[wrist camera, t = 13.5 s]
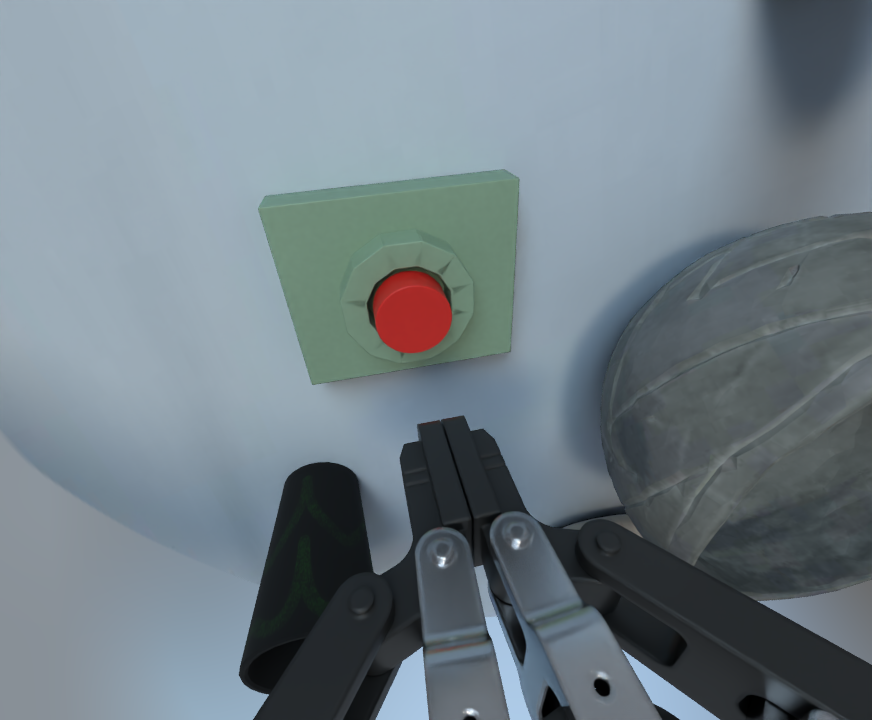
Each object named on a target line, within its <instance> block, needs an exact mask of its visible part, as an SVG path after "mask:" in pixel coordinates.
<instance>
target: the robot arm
mask: <svg viewBox="0 0 872 720" xmlns="http://www.w3.org/2000/svg"><path fill="white" fill-rule="evenodd" d="M417 429H418V438H419V441H417V442H412V443H407V444H404V446H403V449H402V452H401V455H400V464H401V470H402V476H403V483H404V489H405V495H406V500H407V506H408V511H409V517H410V523H411V528H412V534H413V542H412V546H411V548H410V550H409V552H408V554H407V555H406V557H405V558H404V559H403V560H402V561H401V562H400V563H399V564H397V565H396V566H394V567H393V568H391V569H389V570H388V571H386V572H385V573H383V574H381V575H378V574H375V573H371V572H363V573H359V574H356V575H353V576H352V577H350V578H348V579H347V580H346V581H345V582H344V583H343V584H342V585H341V586H340V587H339V588H338V590H337V591H336V593H335V594H334V596H333V597H332V599H331V601H330V602H329V604H328V605H327V607H326V608H325V610H324V611H323V613H322V614H321V616H320V617H319V619H318V621H317V622H316V624H315V625H314V627H313V628H312V630H311V631H310V633H309V634H308V636H307V637H306V639H305V641H304V642H303V644H302V645H301V647H300V648H299V650H298V651H297V653H296V654H295V656H294V657H293V659H292V661H291V662H290V664H289V665H288V667H287V668H286V670H285V671H284V673H283V674H282V676H281V677H280V679H279V681H278V682H277V684H276V685H275V687H274V688H273V690H272V691H271V693H270V694H269V696H268V698H267V699H266V701H265V702H264V704H263V705H262V707H261V708H260V710H259V711H258V713H257V715H256V716H255V718H254V719H253V720H375V719H376V717H377V715H378V713H379V711H380V708H381V706H382V704H383V702H384V700H385V698H386V696H387V694H388V691H389V689H390V687H391V685H392V683H393V681H394V679H395V676H396V674H397V672H398V670H399V668H400V666H401V663H402V661H403V660H404V659H406V658H407V657H409V656H410V655H412V654H413V653H414V652H416V651H417V650H418V649H420V648H421V647H423V657H424V668H425V680H426V691H427V701H428V712H429V720H510V718H509V714H508V708H507V704H506V699H505V695H504V690H503V686H502V681H501V677H500V672H499V667H498V662H497V658H496V654H495V650H494V646H493V642H492V639H491V637H490V636H489V633H488V630H487V626H486V621H485V617H484V612H483V607H482V602H481V598H480V593H479V588H478V583H477V579H476V574H475V569H474V567H476V566H481V565H483V566H484V569H485V572H486V576H487V579H488V593H489V596H490V599H491V601H492V604H493V607H494V609H495V612H496V615H497V617H498V620H499V622H500V625H501V628H502V630H503V633H504V636H505V638H506V641H507V643H508V646H509V649H510V651H511V654H512V657H513V659H514V662H515V664H516V667H517V670H518V674H519V678H520V684H521V689H522V692H523V695H524V699H525V702H526V705H527V708H528V711H529V713H530V716H531V719H532V720H679V719H678V718H677V717H675V716H674V715H672V714H671V713H669V712H668V711H666V710H664V709H663V708H661V707H659V706H657V705H655V704H653V703H652V701H651V700H650V698H649V696H648V694H647V692H646V691H645V689H644V687H643V685H642V684H641V682H640V680H639V679H638V677H637V675H636V673H635V672H634V670H633V668H632V666H631V665H630V663H629V661H628V659H627V658H626V656H625V654H624V652H623V651H622V649H623V650H624V651H625V652H627V653H628V654H630V655H631V656H632V657H634V658H635V659H637V660H638V661H639V662H641V663H642V664H644V665H645V666H646V667H648V668H649V669H651V670H652V671H653V672H655V673H656V674H658V675H659V676H660V677H662V678H663V679H664V680H666V681H668V682H669V683H670V684H671V685H673V686H674V687H676V688H677V689H678V690H680V691H681V692H683V693H684V694H685V695H687V696H688V697H690V698H691V699H692V700H694V701H695V702H697V703H698V704H699V705H701V706H702V707H704V708H705V709H706V710H708V711H709V712H710V713H712V714H714V715H715V716H716V717H717V718H719V719H720V720H872V665H871V664H869V663H867V662H866V661H864V660H862V659H860V658H858V657H857V656H855V655H853V654H851V653H849V652H848V651H846V650H844V649H842V648H840V647H839V646H837V645H835V644H833V643H831V642H830V641H828V640H826V639H824V638H822V637H820V636H819V635H817V634H815V633H813V632H811V631H810V630H808V629H806V628H804V627H802V626H801V625H799V624H797V623H795V622H794V621H792V620H790V619H788V618H786V617H784V616H783V615H781V614H779V613H777V612H775V611H774V610H772V609H770V608H768V607H766V606H765V605H763V604H761V603H759V602H757V601H756V600H754V599H752V598H750V597H748V596H747V595H745V594H743V593H741V592H739V591H738V590H736V589H734V588H732V587H730V586H729V585H727V584H725V583H723V582H721V581H720V580H718V579H716V578H714V577H712V576H711V575H709V574H707V573H705V572H703V571H702V570H700V569H698V568H696V567H694V566H693V565H691V564H689V563H687V562H685V561H684V560H682V559H680V558H678V557H676V556H675V555H673V554H671V553H669V552H667V551H666V550H664V549H662V548H660V547H658V546H657V545H655V544H653V543H651V542H649V541H648V540H646V539H644V538H642V537H640V536H639V535H637V534H635V533H633V532H631V531H630V530H628V529H626V528H624V527H622V526H621V525H619V524H617V523H615V522H612V521H609V520H605V519H594V520H591V521H588V522H586V523H585V524H584V525H583V526H582V527H581V529H580V530H575V529H564V528H555V527H550V526H547V525H545V524H542V523H541V522H539V521H537V520H536V519H535V518H533V517H532V516H531V515H530V514H529V512H528V511H527V510H526V508H525V506H524V504H523V502H522V499H521V497H520V495H519V493H518V490H517V488H516V486H515V484H514V481H513V479H512V477H511V475H510V473H509V470H508V468H507V466H506V464H505V461H504V459H503V457H502V455H501V452H500V450H499V448H498V446H497V444H496V441H495V439H494V438H493V437H492V436H491V435H489V434H488V433H487V432H486V431H485V430H484V429H479V430H473V431H470V429H469V426H468V424H467V421H466V419H465V417H464V416H458V417H453V418H447V419H442V420H441V421H440V420H437V421H432V422H427V423H421V424H417ZM595 688H596V689H595Z"/></svg>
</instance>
